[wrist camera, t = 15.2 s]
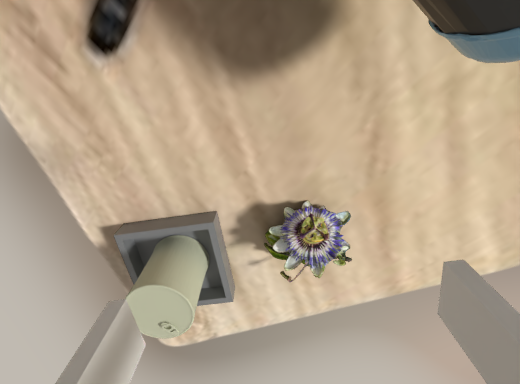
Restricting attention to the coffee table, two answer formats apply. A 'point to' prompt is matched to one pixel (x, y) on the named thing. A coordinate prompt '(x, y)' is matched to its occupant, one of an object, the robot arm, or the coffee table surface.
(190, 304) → the can
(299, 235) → the passion flower
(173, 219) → the tray
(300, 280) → the coffee table surface
